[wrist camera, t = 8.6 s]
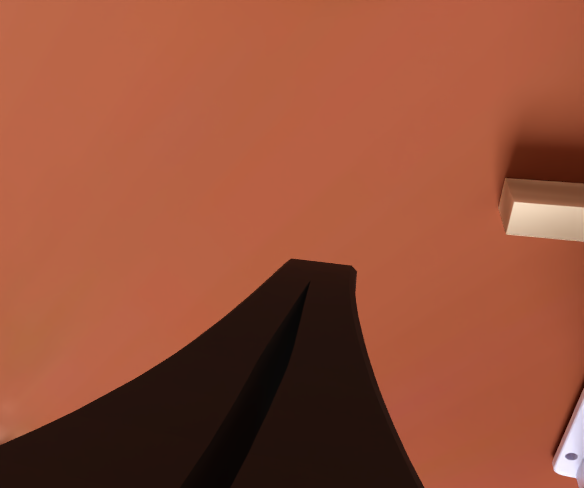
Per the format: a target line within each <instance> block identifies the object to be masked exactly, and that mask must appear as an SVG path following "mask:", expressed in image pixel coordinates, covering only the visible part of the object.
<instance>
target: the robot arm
mask: <svg viewBox="0 0 584 488" xmlns="http://www.w3.org/2000/svg"><path fill="white" fill-rule="evenodd" d="M356 276H357V271H356V270H355V269H354V268H353V267H352V266H350V265H341V264H333V263H324V262H316V261H307V260H299V259H290V260H289V261H288V262H286V263H285V264H284V265H283V266H282V267H281V268H279V269H278V270H277V271H276V272H275V273H274V274H273V275H272V276H271V277H270V278H269V279H268V280H266V281H265V282H264V283H263V284H262V285H261V286H260V287H259V288H258V289H256V290H255V291H254V292H253V293H252V294H251V295H250V296H249V297H247V298H246V299H245V300H244V301H243V302H241V303H240V304H239V305H238V306H237V307H236V308H234V309H233V310H232V311H231V312H230V313H228V314H227V315H226V316H225V317H224V318H222V319H221V320H220V321H219V322H217V323H216V324H215V325H213V326H212V327H211V328H209V329H208V330H207V331H205V332H204V333H203V334H201V335H200V336H199V337H197V338H196V339H195V340H194V341H192V342H191V343H189V344H188V345H187V346H185V347H184V348H182V349H181V350H179V351H178V352H177V353H175V354H174V355H172V356H171V357H169V358H168V359H166V360H165V361H163V362H161V363H160V364H158V365H157V366H155V367H153V368H152V369H150V370H149V371H147V372H145V373H144V374H142V375H140V376H139V377H137V378H135V379H134V380H132V381H130V382H128V383H126V384H124V385H123V386H121V387H119V388H117V389H115V390H113V391H111V392H110V393H108V394H106V395H104V396H102V397H100V398H98V399H97V400H95V401H93V402H91V403H89V404H87V405H85V406H84V407H82V408H80V409H78V410H76V411H74V412H72V413H70V414H68V415H66V416H64V417H61V418H59V419H57V420H55V421H53V422H51V423H49V424H47V425H45V426H42V427H40V428H38V429H36V430H34V431H31V432H29V433H27V434H25V435H22V436H20V437H18V438H16V439H13V440H11V441H9V442H7V443H4V444H2V445H0V488H424V486H423V484H422V482H421V480H420V479H419V477H418V475H417V473H416V471H415V469H414V467H413V465H412V463H411V461H410V459H409V457H408V455H407V453H406V451H405V449H404V447H403V444H402V442H401V440H400V438H399V436H398V433H397V431H396V429H395V427H394V425H393V422H392V420H391V417H390V415H389V413H388V410H387V408H386V405H385V403H384V400H383V398H382V395H381V392H380V390H379V387H378V384H377V381H376V378H375V376H374V372H373V369H372V366H371V363H370V360H369V357H368V353H367V350H366V346H365V343H364V339H363V334H362V330H361V326H360V322H359V317H358V311H357V305H356V297H355V291H356ZM552 465H553V469H554V471H555V472H556V473H558V474H560V475H563V476H569V477H574V478H576V479H577V482H578V486H579V488H584V389H583V391H582V393H581V396H580V398H579V400H578V403H577V405H576V407H575V410H574V412H573V414H572V417H571V419H570V421H569V424H568V426H567V428H566V431H565V433H564V435H563V438H562V440H561V442H560V445H559V447H558V449H557V452H556V454H555V456H554V459H553V461H552Z"/></svg>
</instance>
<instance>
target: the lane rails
mask: <svg viewBox="0 0 584 488" xmlns="http://www.w3.org/2000/svg"><path fill="white" fill-rule="evenodd" d="M498 209H499V212H500V216H501V219H502V222H503V226H504V229H505V232H506V234H508V235H519V236H529V237H540V238H550V239H561V240H571V241H582V242H584V184H583V183H569V182H555V181H541V180H527V179H513V178H505V181H504V185H503V190H502V194H501V198H500V203H499V207H498Z"/></svg>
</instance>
